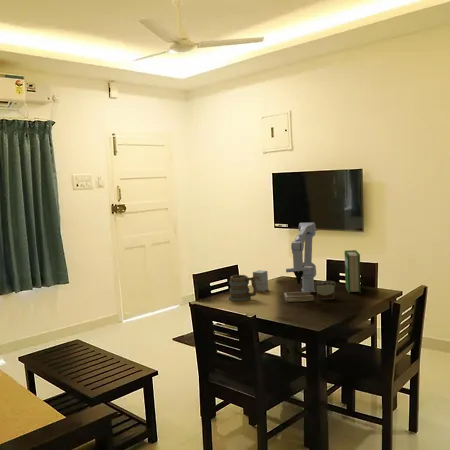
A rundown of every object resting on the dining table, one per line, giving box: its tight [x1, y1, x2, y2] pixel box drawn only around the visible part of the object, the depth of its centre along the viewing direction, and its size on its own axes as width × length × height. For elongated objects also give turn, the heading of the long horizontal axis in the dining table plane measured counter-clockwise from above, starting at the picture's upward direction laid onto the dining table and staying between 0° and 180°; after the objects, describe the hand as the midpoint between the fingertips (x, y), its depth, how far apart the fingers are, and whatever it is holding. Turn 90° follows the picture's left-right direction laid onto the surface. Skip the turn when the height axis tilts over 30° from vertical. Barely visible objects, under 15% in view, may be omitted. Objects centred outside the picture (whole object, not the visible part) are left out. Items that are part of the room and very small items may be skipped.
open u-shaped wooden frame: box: [283, 291, 314, 303], centre depth 290 cm, size 11×16×3 cm
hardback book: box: [344, 249, 362, 294], centre depth 306 cm, size 18×7×24 cm, turn 172°
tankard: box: [228, 274, 260, 302], centre depth 297 cm, size 20×13×15 cm, turn 65°
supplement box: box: [252, 269, 269, 292], centre depth 319 cm, size 7×7×13 cm
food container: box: [314, 280, 337, 300], centre depth 290 cm, size 12×6×10 cm, turn 84°
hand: (298, 283), depth 289 cm, fingers closed
